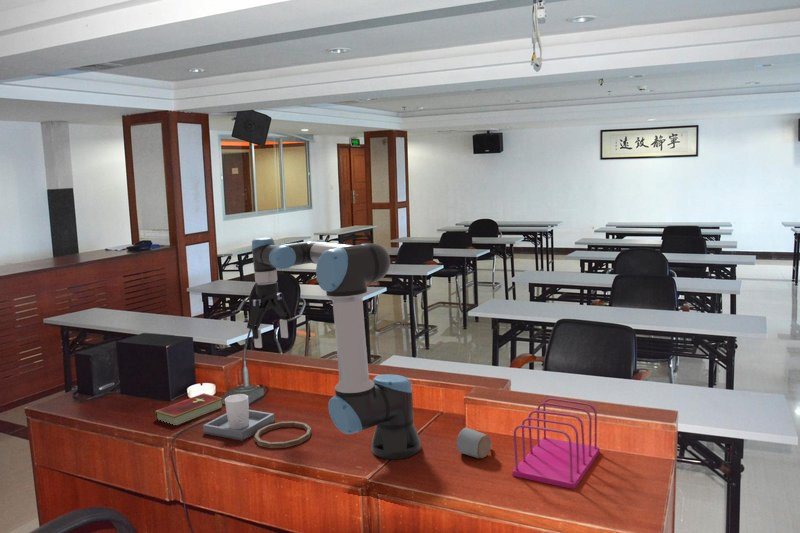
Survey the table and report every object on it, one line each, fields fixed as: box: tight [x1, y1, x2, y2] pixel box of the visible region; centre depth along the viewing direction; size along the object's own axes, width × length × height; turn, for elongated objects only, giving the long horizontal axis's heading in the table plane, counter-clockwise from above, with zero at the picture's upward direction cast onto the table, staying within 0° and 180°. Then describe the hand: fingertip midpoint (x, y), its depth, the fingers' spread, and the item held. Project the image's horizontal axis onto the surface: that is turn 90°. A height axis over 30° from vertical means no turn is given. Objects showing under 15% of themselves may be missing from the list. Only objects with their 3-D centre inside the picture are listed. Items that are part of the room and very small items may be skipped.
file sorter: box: [512, 397, 600, 490], centre depth 187 cm, size 17×25×16 cm
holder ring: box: [253, 420, 312, 449], centre depth 218 cm, size 18×18×2 cm
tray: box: [202, 409, 276, 442], centre depth 228 cm, size 17×17×3 cm
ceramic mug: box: [456, 427, 493, 459], centre depth 198 cm, size 11×8×8 cm
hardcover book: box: [154, 393, 224, 426], centre depth 244 cm, size 12×21×4 cm, turn 143°
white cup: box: [224, 393, 250, 429], centre depth 227 cm, size 8×8×10 cm
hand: (271, 342), depth 230 cm, fingers open, 13 cm apart
